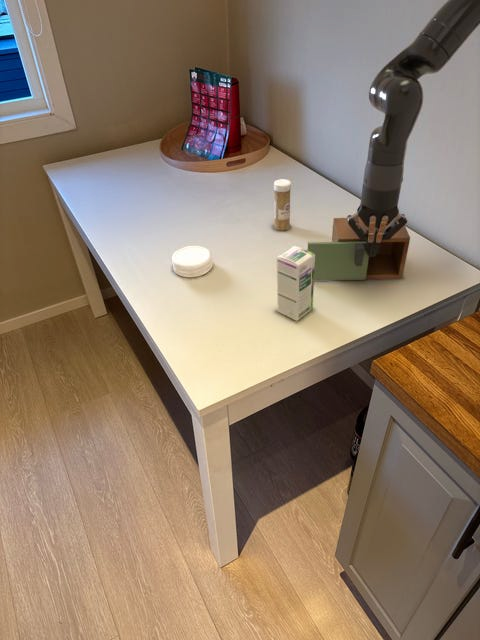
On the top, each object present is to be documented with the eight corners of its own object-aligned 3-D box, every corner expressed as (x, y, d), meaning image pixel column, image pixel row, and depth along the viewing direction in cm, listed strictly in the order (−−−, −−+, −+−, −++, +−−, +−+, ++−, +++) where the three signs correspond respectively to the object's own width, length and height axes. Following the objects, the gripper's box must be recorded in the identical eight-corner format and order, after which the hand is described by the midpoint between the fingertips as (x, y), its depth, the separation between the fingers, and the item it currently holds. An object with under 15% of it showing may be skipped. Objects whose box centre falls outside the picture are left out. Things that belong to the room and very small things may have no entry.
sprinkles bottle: (285, 232, 135) (285, 186, 126) (270, 228, 137) (270, 183, 128) (293, 225, 138) (294, 180, 129) (279, 221, 140) (279, 177, 131)
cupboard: (393, 256, 123) (401, 216, 116) (402, 278, 115) (410, 237, 108) (330, 256, 124) (333, 218, 117) (334, 279, 116) (338, 238, 109)
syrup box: (297, 322, 105) (299, 265, 95) (276, 311, 108) (276, 255, 99) (313, 309, 108) (316, 253, 99) (291, 299, 111) (293, 244, 102)
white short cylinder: (187, 253, 129) (185, 241, 126) (219, 261, 125) (218, 249, 122) (165, 272, 122) (163, 260, 120) (199, 282, 118) (198, 269, 116)
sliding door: (365, 278, 115) (370, 241, 109) (367, 285, 113) (372, 248, 106) (305, 278, 116) (307, 242, 110) (306, 286, 114) (308, 249, 107)
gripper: (411, 173, 100) (397, 245, 111) (347, 174, 101) (339, 246, 112) (420, 188, 95) (404, 263, 106) (351, 190, 95) (343, 264, 106)
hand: (371, 254), depth 109 cm, fingers closed
